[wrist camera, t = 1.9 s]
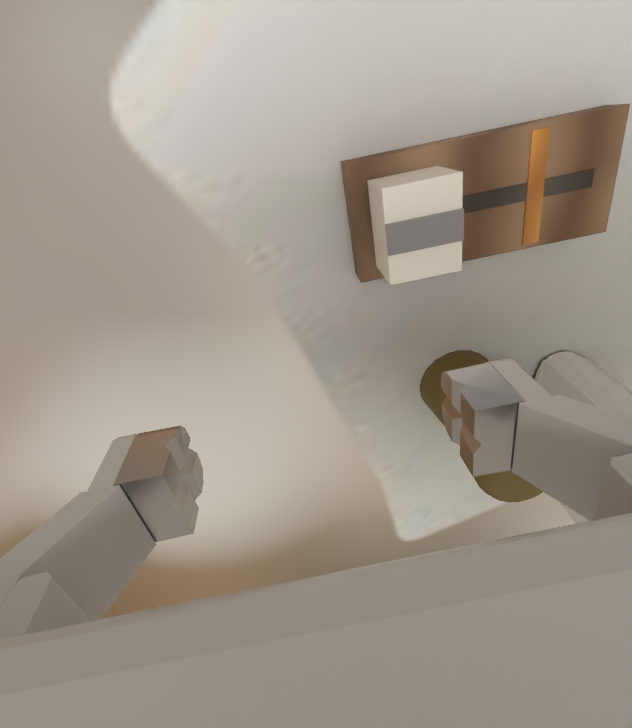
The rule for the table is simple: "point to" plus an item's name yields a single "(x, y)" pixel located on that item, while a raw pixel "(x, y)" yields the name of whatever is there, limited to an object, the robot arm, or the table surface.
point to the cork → (493, 484)
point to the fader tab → (417, 223)
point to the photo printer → (583, 389)
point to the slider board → (507, 182)
